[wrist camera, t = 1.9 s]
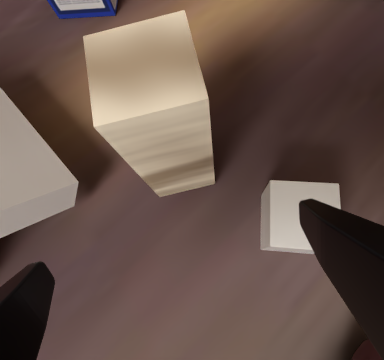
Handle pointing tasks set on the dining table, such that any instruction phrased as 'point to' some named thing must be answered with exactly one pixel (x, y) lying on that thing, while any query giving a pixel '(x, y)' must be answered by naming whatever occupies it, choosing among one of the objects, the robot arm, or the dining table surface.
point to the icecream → (366, 352)
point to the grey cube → (290, 213)
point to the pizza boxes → (29, 173)
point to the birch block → (153, 101)
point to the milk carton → (83, 8)
